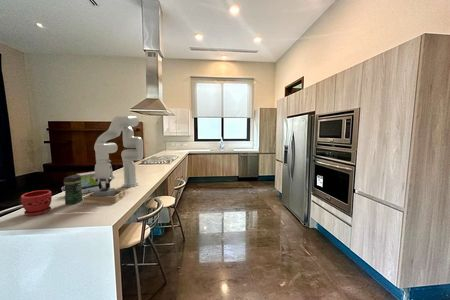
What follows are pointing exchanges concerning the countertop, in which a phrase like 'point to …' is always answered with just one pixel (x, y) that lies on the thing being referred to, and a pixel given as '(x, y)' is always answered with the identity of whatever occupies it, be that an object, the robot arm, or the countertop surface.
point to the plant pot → (36, 202)
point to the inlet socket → (104, 193)
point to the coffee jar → (73, 189)
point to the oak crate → (103, 198)
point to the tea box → (88, 182)
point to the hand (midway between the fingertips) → (104, 188)
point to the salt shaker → (103, 185)
